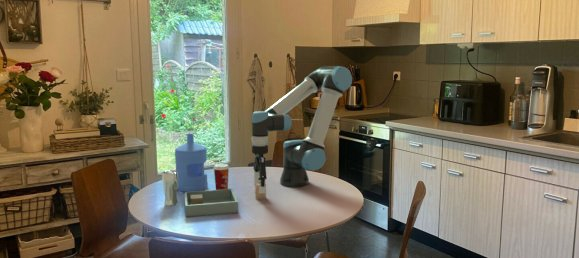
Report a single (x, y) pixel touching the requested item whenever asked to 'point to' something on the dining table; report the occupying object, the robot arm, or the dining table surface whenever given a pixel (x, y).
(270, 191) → the dining table surface
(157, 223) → the dining table surface
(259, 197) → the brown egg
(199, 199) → the walnut cube
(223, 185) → the paper cup
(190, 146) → the water jug
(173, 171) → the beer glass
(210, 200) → the tote
